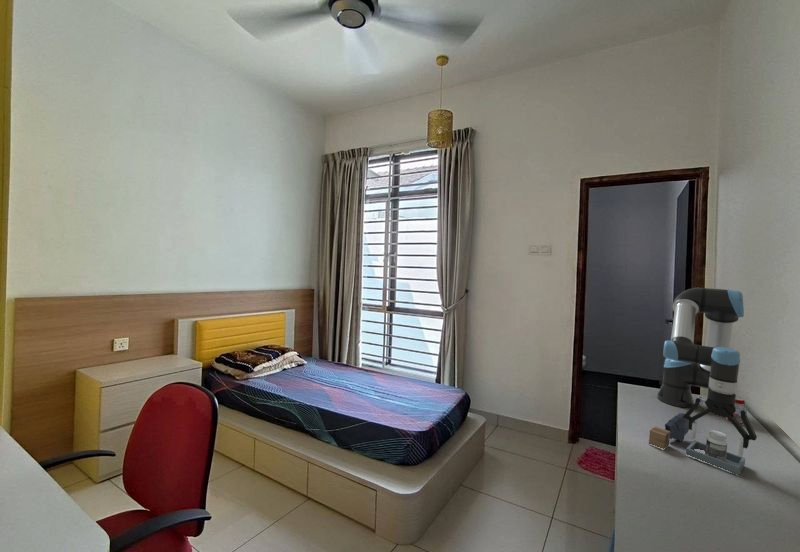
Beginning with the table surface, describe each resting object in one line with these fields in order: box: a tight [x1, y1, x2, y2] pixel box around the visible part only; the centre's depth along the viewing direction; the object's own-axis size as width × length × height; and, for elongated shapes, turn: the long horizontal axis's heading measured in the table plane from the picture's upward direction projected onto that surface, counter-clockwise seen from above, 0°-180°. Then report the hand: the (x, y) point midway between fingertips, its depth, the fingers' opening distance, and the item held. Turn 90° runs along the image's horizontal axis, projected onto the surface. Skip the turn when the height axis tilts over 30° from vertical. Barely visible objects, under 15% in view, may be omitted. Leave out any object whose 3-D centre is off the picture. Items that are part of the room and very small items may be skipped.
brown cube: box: [648, 425, 670, 449], centre depth 141 cm, size 6×5×6 cm
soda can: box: [726, 396, 746, 426], centre depth 165 cm, size 6×6×12 cm
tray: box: [685, 439, 746, 476], centre depth 132 cm, size 11×15×3 cm
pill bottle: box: [705, 429, 728, 462], centre depth 132 cm, size 6×6×10 cm
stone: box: [664, 412, 690, 443], centre depth 147 cm, size 14×6×10 cm, turn 129°
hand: (715, 446), depth 132 cm, fingers open, 13 cm apart
